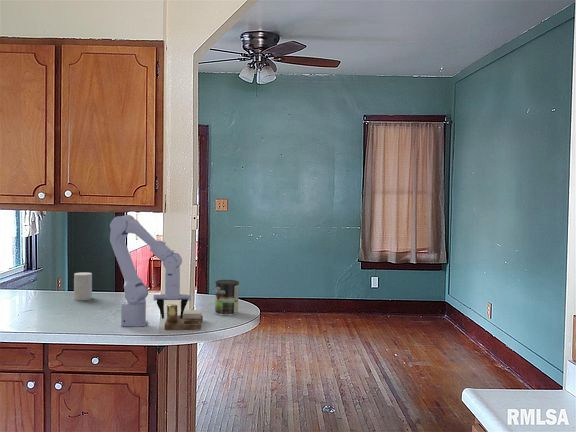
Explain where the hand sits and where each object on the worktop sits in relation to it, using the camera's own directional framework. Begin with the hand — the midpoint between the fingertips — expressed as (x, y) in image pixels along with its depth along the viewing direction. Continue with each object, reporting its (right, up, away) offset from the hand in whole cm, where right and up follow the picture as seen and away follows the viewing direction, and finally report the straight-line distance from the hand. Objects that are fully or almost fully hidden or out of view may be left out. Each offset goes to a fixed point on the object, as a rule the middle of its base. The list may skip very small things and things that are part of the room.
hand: (172, 318), depth 244 cm
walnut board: (+4, -3, +4) cm, 6 cm away
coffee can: (+19, -2, +26) cm, 32 cm away
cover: (+7, -1, +9) cm, 11 cm away
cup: (-53, +1, +51) cm, 74 cm away
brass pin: (0, -1, 0) cm, 1 cm away
